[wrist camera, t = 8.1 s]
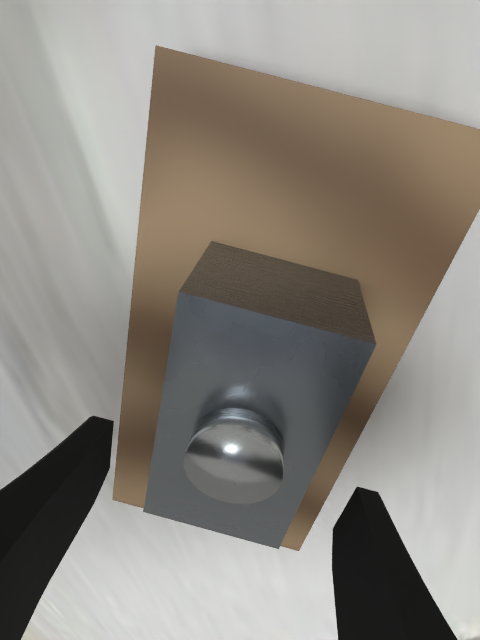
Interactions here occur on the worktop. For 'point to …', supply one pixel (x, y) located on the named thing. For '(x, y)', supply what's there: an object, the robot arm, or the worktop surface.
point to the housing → (253, 390)
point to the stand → (288, 224)
